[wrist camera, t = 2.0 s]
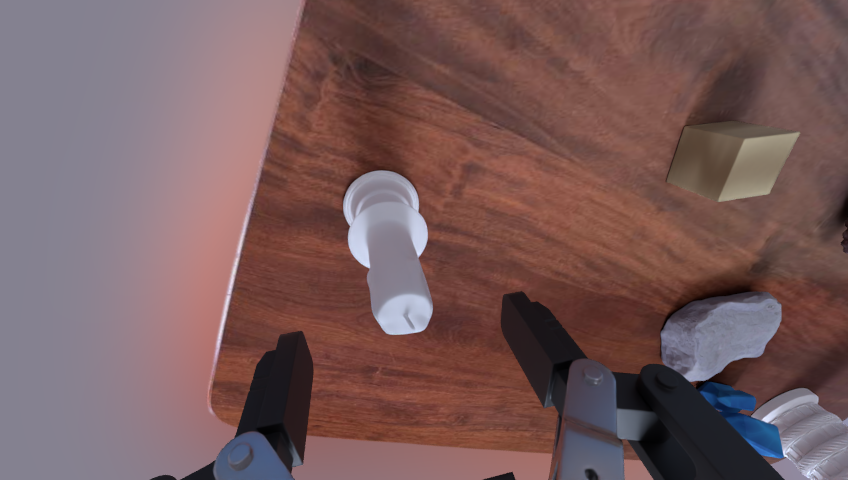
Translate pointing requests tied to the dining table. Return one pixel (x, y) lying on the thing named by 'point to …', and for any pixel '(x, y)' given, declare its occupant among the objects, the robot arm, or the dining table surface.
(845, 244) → the pine cone
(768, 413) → the decorative container
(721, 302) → the stone block
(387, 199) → the candle
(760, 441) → the crystal
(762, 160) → the block
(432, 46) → the dining table surface
